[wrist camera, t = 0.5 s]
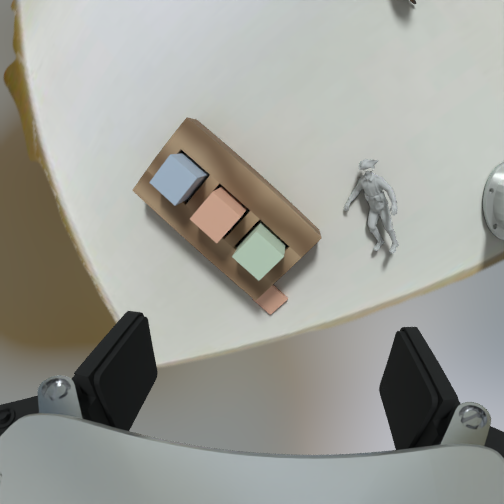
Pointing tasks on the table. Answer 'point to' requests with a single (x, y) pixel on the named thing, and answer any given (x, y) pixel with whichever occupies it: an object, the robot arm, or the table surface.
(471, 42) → the table surface
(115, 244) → the table surface
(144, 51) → the table surface
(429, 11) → the table surface
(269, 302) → the tile
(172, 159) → the light blue block
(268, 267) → the mint green block
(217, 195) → the salmon pink rectangular block
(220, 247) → the board
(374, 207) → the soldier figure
